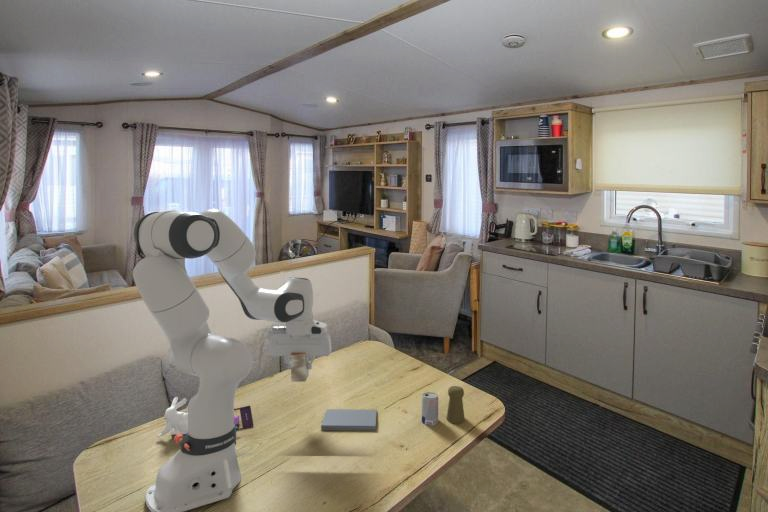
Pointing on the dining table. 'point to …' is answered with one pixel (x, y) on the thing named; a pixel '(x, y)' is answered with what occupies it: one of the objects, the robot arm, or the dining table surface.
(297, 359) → the block
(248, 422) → the purple box
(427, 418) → the energy drink
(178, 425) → the rabbit figurine
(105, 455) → the dining table surface
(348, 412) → the slate board
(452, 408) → the brown pawn shape
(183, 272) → the robot arm
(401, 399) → the dining table surface
